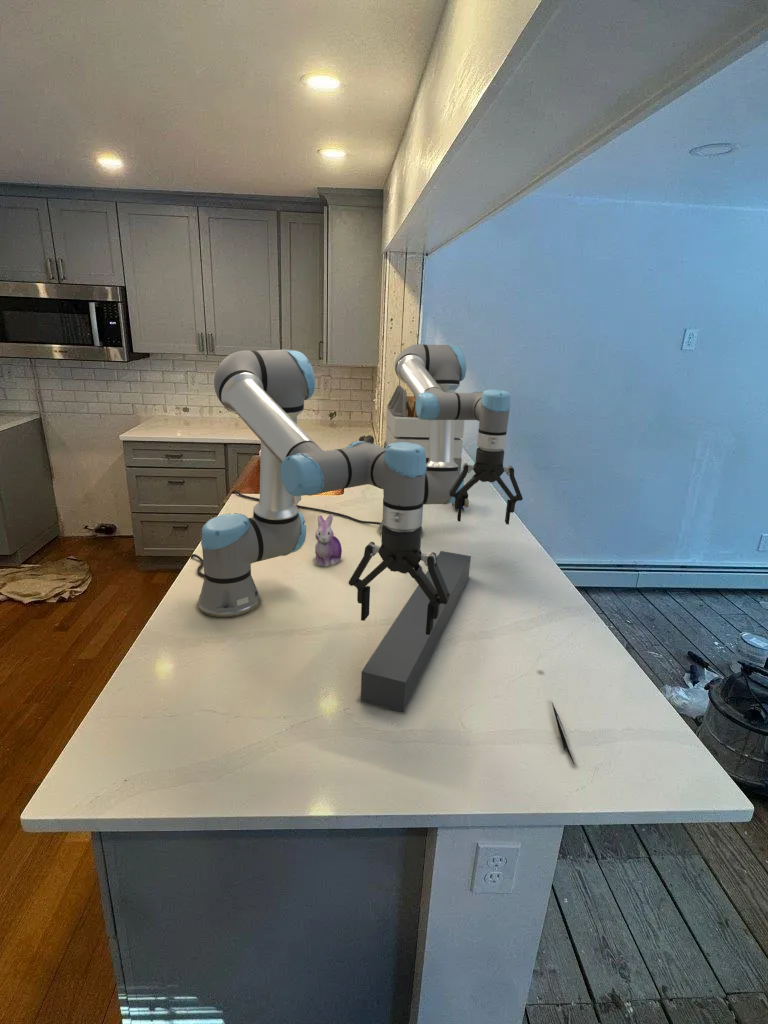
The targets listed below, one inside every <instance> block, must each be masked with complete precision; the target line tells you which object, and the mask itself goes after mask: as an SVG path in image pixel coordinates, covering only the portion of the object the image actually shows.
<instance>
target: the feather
mask: <svg viewBox="0 0 768 1024" xmlns="http://www.w3.org/2000/svg"><path fill="white" fill-rule="evenodd" d="M540 673H542V670H540ZM551 705H552V709H553V713H554V716H555V721H556V725H557V728H558V732H559V737H560V740H561V742H562V745H563V750H564V751H566V752H567V754H568V755H569V757H570V760H571V762H572V764H573V765H574V764H575V762H574V760H573V759H574V758H573V757H572V754H573V755H574V752H572V753H571V751H570V748H571V750H573V748H574V747H572V746H571V747H570V748H569V745H568V743H570V740H569V738H568V734H567V731H566V730H565V727H564V725H563V723H562V721H561V718H560V716H559V714H558V712H557V710H556V707H555V704H554V703H553V702H551ZM565 736H566V737H565ZM567 742H568V743H567Z"/></svg>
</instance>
